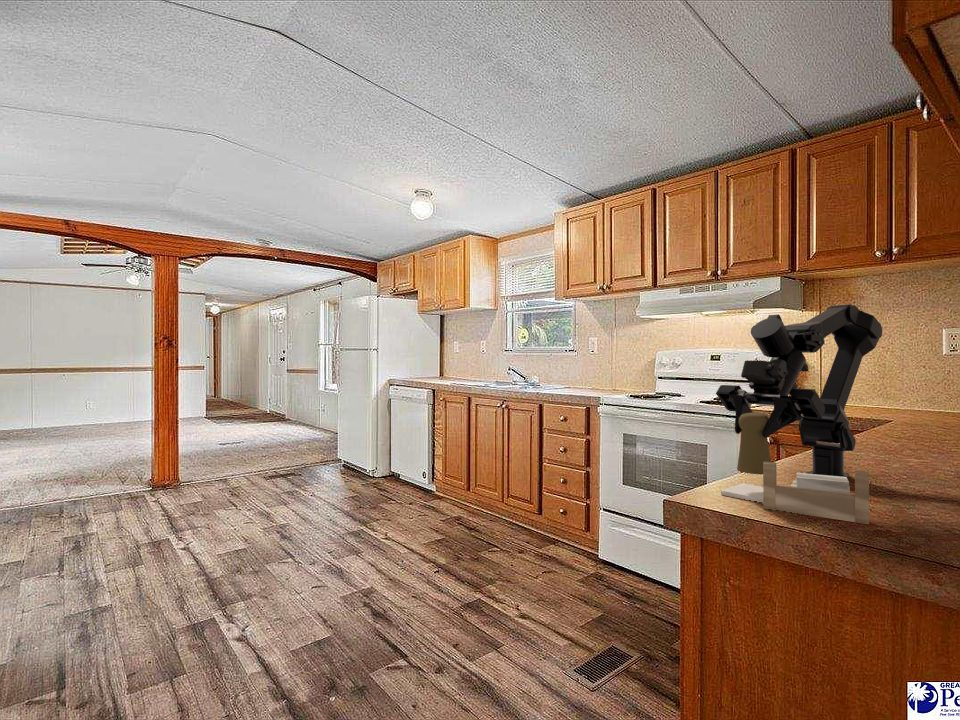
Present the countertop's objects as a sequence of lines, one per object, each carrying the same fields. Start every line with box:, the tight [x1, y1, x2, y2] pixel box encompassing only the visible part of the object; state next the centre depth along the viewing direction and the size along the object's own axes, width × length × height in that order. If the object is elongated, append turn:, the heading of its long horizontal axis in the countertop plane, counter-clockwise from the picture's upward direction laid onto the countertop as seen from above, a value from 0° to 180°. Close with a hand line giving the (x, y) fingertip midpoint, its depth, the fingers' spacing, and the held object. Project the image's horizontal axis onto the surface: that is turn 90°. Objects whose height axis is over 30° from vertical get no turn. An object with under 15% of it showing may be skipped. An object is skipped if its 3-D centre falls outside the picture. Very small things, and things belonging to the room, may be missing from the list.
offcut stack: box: [789, 472, 851, 494], centre depth 98 cm, size 5×9×4 cm, turn 53°
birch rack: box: [762, 461, 870, 525], centre depth 88 cm, size 2×15×8 cm, turn 54°
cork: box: [736, 412, 772, 475], centre depth 100 cm, size 6×6×11 cm
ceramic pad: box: [720, 483, 763, 504], centre depth 100 cm, size 8×8×1 cm
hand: (749, 434), depth 99 cm, fingers closed on cork, 5 cm apart
